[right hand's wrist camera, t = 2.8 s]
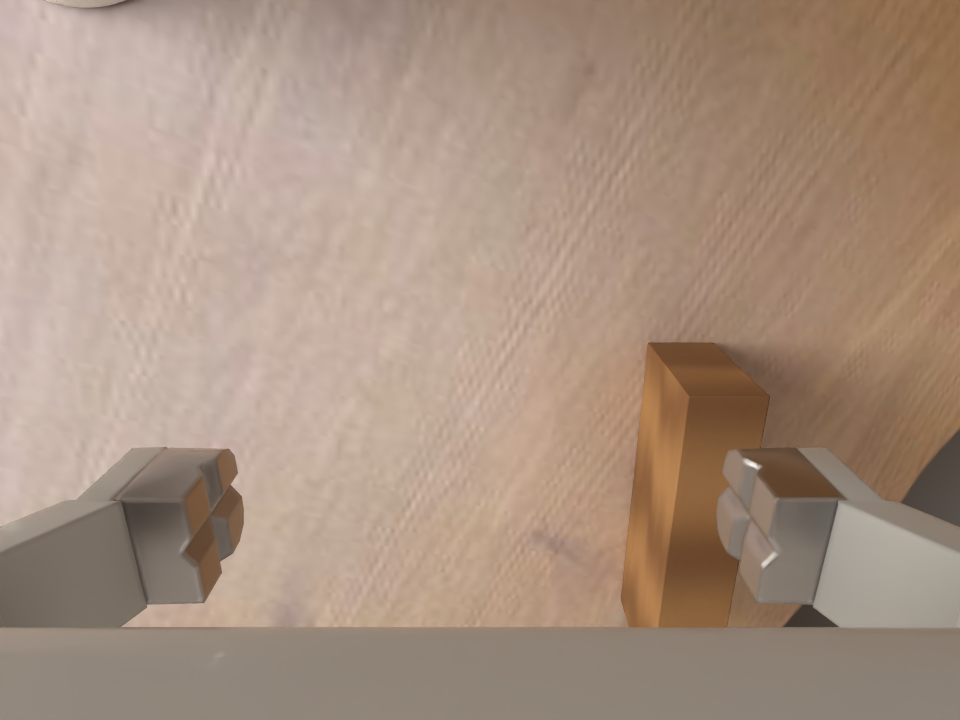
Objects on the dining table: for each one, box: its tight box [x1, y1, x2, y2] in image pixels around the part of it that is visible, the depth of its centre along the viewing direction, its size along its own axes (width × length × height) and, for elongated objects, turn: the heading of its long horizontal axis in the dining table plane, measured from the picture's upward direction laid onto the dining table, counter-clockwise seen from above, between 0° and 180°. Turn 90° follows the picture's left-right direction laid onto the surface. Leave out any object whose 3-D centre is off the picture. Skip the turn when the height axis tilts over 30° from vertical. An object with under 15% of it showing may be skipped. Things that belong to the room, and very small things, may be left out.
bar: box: [621, 343, 770, 627], centre depth 42 cm, size 22×4×9 cm, turn 0°
